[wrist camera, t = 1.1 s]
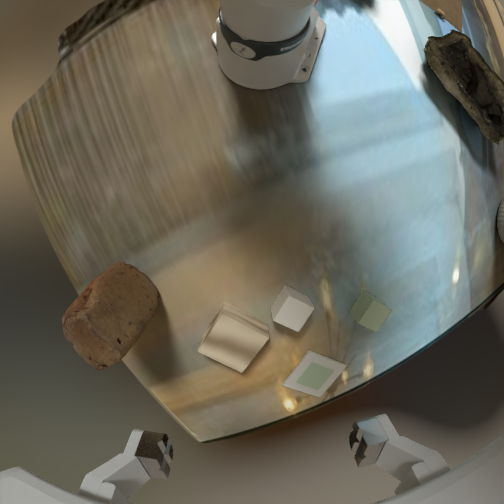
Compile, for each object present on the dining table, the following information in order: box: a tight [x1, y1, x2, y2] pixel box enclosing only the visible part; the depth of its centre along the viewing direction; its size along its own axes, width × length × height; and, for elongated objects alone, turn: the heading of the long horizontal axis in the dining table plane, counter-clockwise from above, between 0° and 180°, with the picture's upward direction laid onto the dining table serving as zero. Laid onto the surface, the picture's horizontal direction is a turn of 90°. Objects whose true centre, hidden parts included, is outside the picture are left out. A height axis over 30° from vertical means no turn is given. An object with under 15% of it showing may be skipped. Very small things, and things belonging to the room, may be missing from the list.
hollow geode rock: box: [424, 30, 504, 144], centre depth 33 cm, size 28×13×15 cm
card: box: [282, 350, 347, 398], centre depth 52 cm, size 10×10×1 cm
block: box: [62, 262, 159, 370], centre depth 37 cm, size 11×8×20 cm
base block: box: [198, 302, 269, 373], centre depth 47 cm, size 9×9×5 cm
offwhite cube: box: [271, 285, 315, 332], centre depth 46 cm, size 5×5×5 cm
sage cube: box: [349, 290, 392, 333], centre depth 47 cm, size 5×5×5 cm
